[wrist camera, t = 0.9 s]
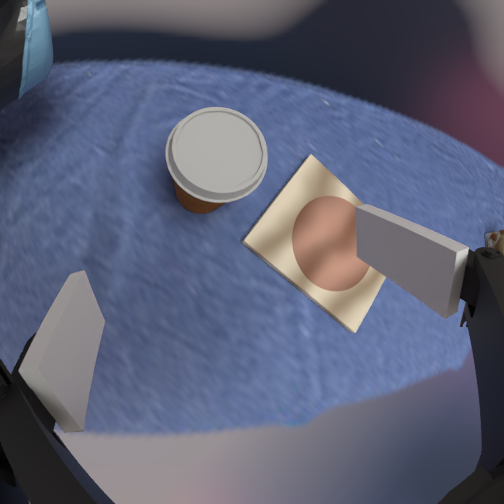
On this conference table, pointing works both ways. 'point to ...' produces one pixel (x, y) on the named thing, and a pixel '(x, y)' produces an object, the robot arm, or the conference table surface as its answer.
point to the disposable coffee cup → (215, 158)
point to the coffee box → (495, 240)
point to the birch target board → (317, 243)
